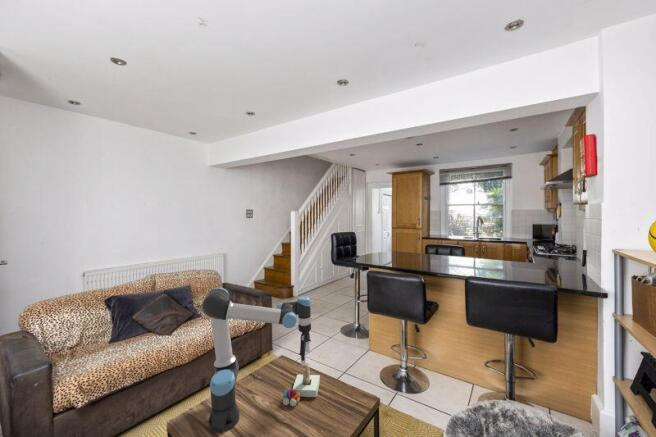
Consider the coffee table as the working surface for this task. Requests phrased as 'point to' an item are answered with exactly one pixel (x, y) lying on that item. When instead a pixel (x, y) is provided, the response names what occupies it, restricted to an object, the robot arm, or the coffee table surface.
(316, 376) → the socket block
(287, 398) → the rainbow wheeled toy
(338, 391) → the coffee table surface
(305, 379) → the peg
